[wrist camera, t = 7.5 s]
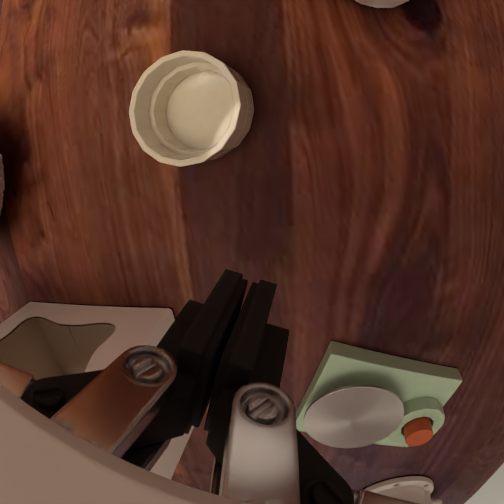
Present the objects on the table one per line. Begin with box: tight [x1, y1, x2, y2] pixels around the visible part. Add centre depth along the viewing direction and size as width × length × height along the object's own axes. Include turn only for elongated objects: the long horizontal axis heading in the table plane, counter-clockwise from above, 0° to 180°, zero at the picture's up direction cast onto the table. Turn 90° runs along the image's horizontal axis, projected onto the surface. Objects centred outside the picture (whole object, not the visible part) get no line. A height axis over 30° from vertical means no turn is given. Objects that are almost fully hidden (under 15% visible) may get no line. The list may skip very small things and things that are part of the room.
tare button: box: [403, 417, 433, 446], centre depth 24 cm, size 3×3×2 cm
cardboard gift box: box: [0, 302, 194, 480], centre depth 20 cm, size 22×13×28 cm, turn 98°
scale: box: [296, 341, 463, 447], centre depth 26 cm, size 14×11×4 cm
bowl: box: [129, 50, 254, 167], centre depth 19 cm, size 7×7×5 cm
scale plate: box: [304, 384, 404, 448], centre depth 25 cm, size 9×9×1 cm
